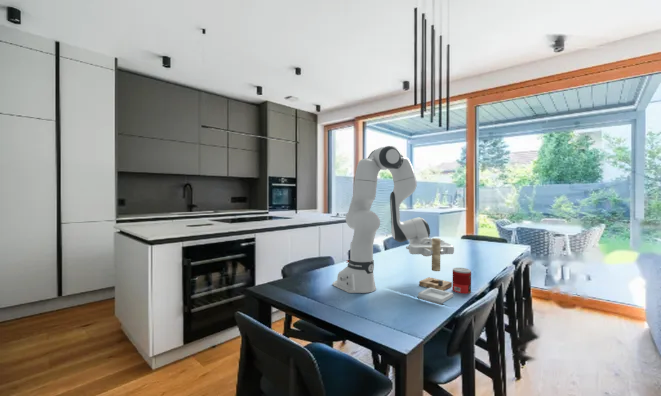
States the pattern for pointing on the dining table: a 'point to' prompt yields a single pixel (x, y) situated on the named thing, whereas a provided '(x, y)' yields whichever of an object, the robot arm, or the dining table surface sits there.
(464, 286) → the canned food
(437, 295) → the tray
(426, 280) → the socket block
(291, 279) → the dining table surface
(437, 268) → the dowel
